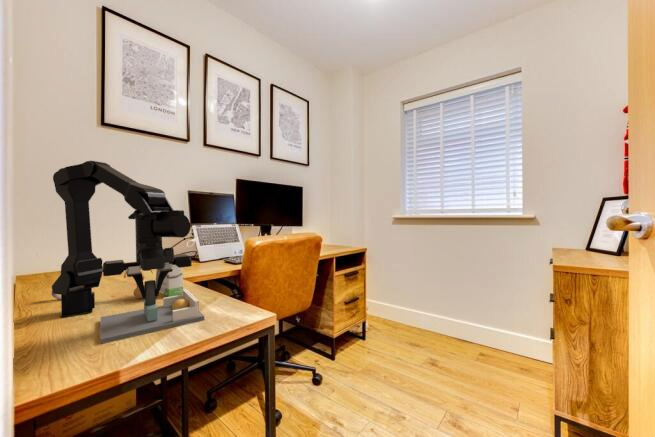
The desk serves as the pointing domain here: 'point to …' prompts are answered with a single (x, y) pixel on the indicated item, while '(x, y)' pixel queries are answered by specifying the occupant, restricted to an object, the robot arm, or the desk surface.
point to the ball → (180, 304)
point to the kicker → (150, 300)
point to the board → (139, 323)
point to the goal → (184, 312)
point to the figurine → (137, 291)
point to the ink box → (173, 282)
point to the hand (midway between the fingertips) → (150, 297)
